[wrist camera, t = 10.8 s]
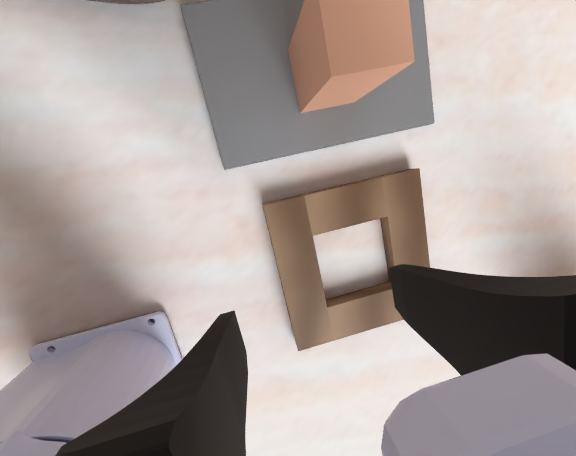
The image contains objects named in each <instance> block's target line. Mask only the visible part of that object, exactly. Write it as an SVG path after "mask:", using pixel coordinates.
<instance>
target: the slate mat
mask: <svg viewBox="0 0 576 456" xmlns="http://www.w3.org/2000/svg"><path fill="white" fill-rule="evenodd" d="M303 3H304V0H212V1H206V2H199V3H193V4H186V5H181V9H182V12H183V16H184V20H185V24H186V27H187V31H188V35H189V39H190V42H191V46H192V50H193V54H194V57H195V61H196V65H197V69H198V72H199V76H200V80H201V84H202V87H203V91H204V95H205V99H206V102H207V106H208V110H209V114H210V117H211V121H212V125H213V129H214V132H215V136H216V140H217V144H218V147H219V151H220V155H221V159H222V162H223V166H224V170H226V169H230V168H235V167H239V166H244V165H248V164H253V163H257V162H262V161H267V160H271V159H276V158H280V157H285V156H289V155H294V154H298V153H303V152H307V151H312V150H316V149H321V148H325V147H330V146H334V145H339V144H344V143H348V142H353V141H357V140H362V139H366V138H371V137H375V136H380V135H384V134H389V133H393V132H398V131H402V130H407V129H411V128H416V127H421V126H425V125H429V124H433V123H434V114H433V103H432V92H431V81H430V70H429V58H428V47H427V36H426V25H425V14H424V3H423V0H409V8H410V18H411V28H412V38H413V49H414V59H415V62H413V63H412V64H410V65H409V66H407V67H406V68H404V69H403V70H401V71H400V72H398V73H397V74H395V75H394V76H393V77H391V78H390V79H388V80H387V81H385V82H384V83H382V84H381V85H379V86H378V87H376V88H375V89H373V90H372V91H370V92H369V93H367V94H366V95H364V96H363V97H362V98H360V99H359V100H357V101H356V102H354V103H349V104H344V105H339V106H334V107H329V108H324V109H319V110H314V111H309V112H304V113H300V110H299V105H298V100H297V94H296V89H295V84H294V79H293V74H292V68H291V63H290V58H289V53H288V48H289V45H290V42H291V39H292V36H293V33H294V30H295V27H296V24H297V21H298V18H299V15H300V12H301V9H302V6H303Z"/></svg>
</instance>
